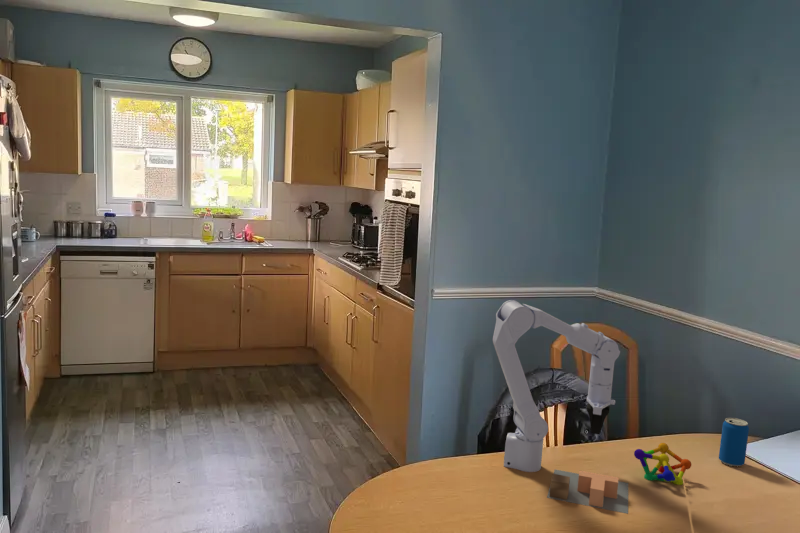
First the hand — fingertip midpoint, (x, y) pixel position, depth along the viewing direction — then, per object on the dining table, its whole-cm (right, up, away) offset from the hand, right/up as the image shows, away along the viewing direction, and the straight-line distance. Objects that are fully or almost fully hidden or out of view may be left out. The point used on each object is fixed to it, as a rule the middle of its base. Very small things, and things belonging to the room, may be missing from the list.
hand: (595, 433), depth 177 cm
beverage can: (+40, -11, +11) cm, 43 cm away
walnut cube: (-14, -10, -17) cm, 24 cm away
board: (-6, -11, -13) cm, 18 cm away
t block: (-5, -11, -17) cm, 21 cm away
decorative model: (+16, -12, -3) cm, 20 cm away
